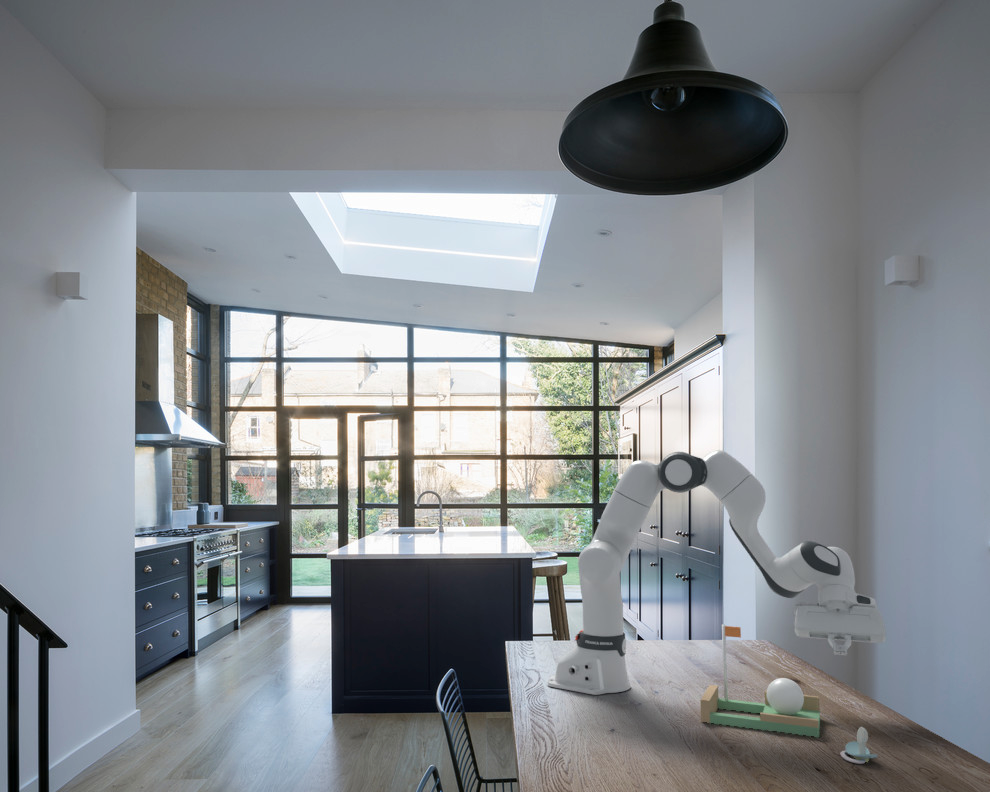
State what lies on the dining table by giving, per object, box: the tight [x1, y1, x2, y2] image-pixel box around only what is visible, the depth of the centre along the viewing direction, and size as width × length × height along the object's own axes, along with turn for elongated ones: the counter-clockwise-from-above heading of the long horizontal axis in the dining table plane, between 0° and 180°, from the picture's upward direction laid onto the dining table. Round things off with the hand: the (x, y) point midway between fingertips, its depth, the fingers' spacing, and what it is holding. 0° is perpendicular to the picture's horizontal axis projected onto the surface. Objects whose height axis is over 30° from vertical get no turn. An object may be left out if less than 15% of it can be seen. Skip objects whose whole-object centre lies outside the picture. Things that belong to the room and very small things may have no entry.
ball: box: [766, 677, 805, 715], centre depth 169 cm, size 8×8×8 cm
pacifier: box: [840, 726, 878, 765], centre depth 147 cm, size 7×6×6 cm
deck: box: [700, 624, 821, 738], centre depth 172 cm, size 25×14×20 cm, turn 65°
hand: (840, 653), depth 175 cm, fingers closed
